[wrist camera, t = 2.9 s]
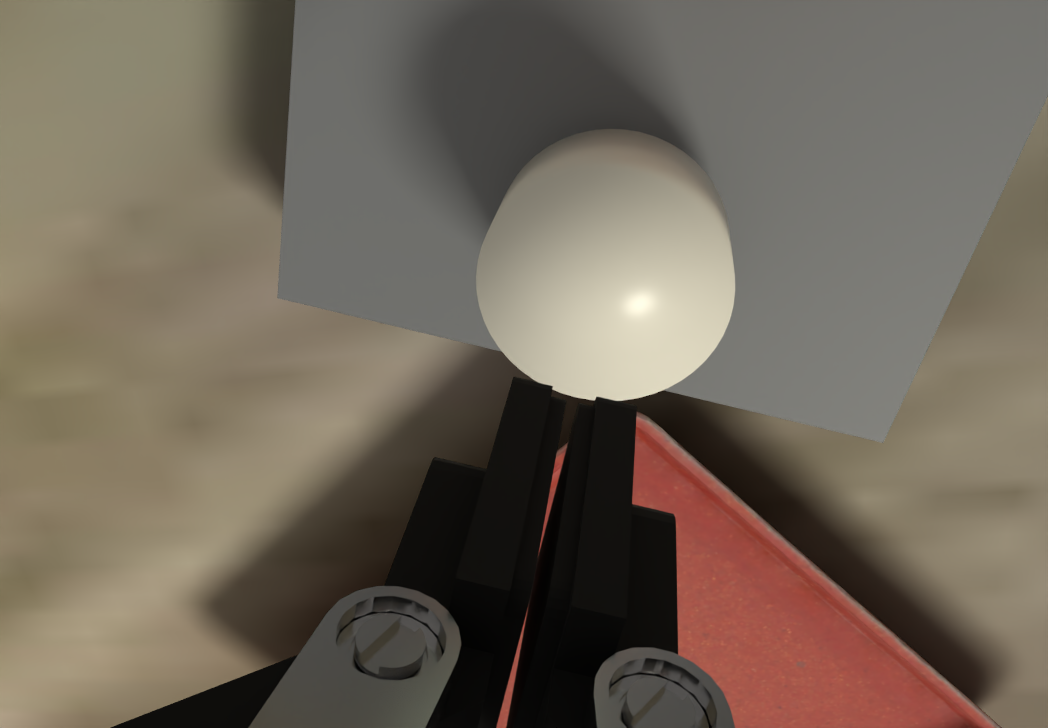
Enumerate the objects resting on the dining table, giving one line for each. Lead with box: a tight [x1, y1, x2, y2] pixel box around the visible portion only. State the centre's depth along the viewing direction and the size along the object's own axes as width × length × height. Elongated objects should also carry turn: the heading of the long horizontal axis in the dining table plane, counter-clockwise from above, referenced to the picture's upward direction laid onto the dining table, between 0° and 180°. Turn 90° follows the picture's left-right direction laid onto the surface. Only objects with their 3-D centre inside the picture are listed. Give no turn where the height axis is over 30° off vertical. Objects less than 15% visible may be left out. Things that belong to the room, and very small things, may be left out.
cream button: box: [476, 129, 735, 401], centre depth 18 cm, size 5×5×2 cm
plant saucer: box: [496, 412, 1001, 728], centre depth 29 cm, size 18×18×3 cm
